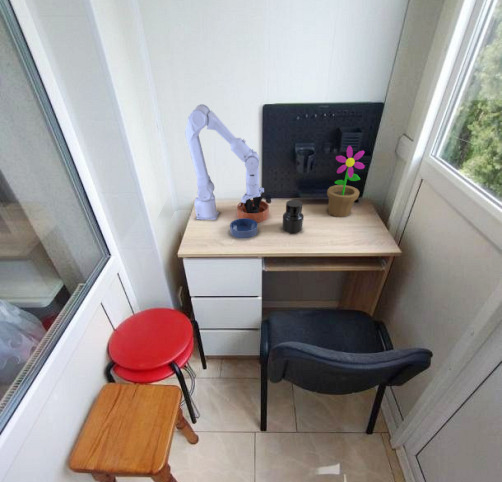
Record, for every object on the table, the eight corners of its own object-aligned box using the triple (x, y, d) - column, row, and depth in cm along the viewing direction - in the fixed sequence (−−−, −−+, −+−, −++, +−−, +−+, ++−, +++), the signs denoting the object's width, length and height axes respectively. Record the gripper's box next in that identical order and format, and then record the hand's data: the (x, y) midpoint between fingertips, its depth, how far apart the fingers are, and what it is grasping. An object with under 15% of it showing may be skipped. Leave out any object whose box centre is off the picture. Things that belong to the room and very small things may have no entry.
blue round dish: (228, 238, 121) (227, 231, 119) (233, 224, 130) (232, 217, 127) (255, 240, 120) (255, 232, 118) (259, 226, 129) (259, 218, 126)
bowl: (234, 223, 131) (234, 213, 127) (240, 208, 142) (239, 198, 138) (267, 225, 129) (267, 214, 126) (270, 210, 140) (270, 200, 136)
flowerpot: (323, 217, 133) (335, 147, 113) (324, 204, 143) (336, 137, 123) (354, 220, 131) (372, 149, 110) (353, 206, 141) (370, 139, 120)
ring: (247, 216, 133) (247, 210, 131) (248, 211, 137) (248, 205, 135) (257, 216, 132) (257, 211, 130) (258, 211, 136) (258, 206, 134)
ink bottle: (306, 230, 125) (310, 204, 117) (292, 236, 121) (294, 210, 113) (291, 221, 131) (294, 196, 122) (277, 227, 127) (278, 202, 119)
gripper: (249, 190, 119) (250, 220, 128) (269, 179, 127) (268, 208, 136) (236, 186, 122) (238, 216, 131) (256, 176, 130) (257, 204, 139)
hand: (252, 212), depth 134 cm, fingers closed on ring, 5 cm apart
